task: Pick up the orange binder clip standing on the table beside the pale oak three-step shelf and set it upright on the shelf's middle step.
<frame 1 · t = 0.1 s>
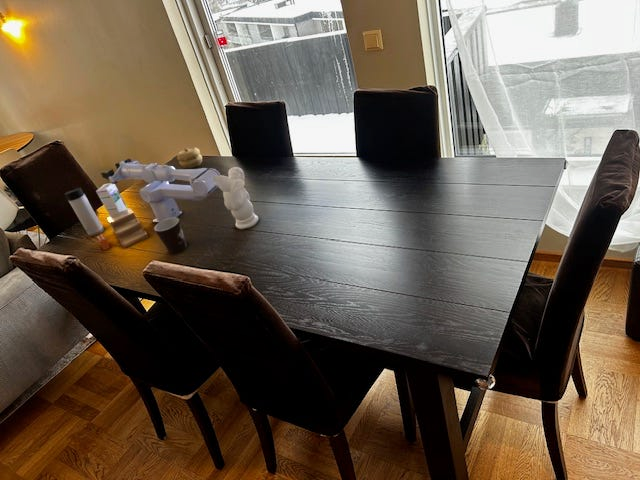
hand: (109, 170, 180), 22 cm above the table, tool horizontal, fingers open, 7 cm apart
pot: (193, 167, 228), on the table
syrup box: (121, 216, 195), on the table
travel mug: (96, 232, 186), on the table
step shelf: (130, 234, 177), on the table
cherub figurine: (249, 225, 161), on the table
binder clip: (106, 247, 172), on the table
coffee mug: (181, 246, 159), on the table
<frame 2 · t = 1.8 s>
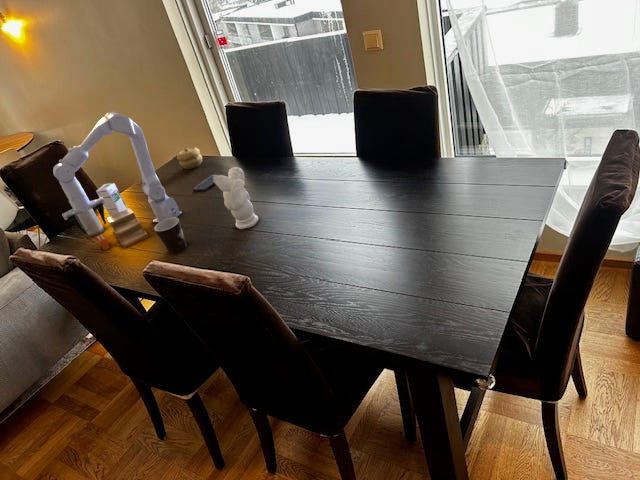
hand: (94, 227, 167), 9 cm above the table, tool pointing down, fingers open, 7 cm apart
nothing on the table moved.
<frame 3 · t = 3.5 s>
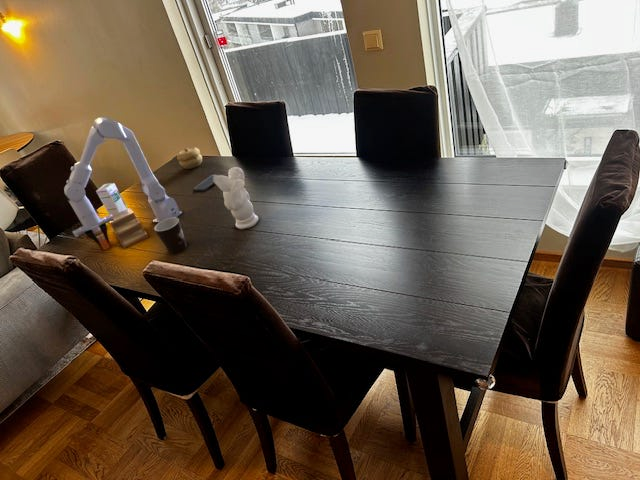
hand: (104, 244, 171), 1 cm above the table, tool pointing down, fingers closed on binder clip, 2 cm apart
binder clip: (106, 247, 172), on the table, touching gripper
everything else where it was.
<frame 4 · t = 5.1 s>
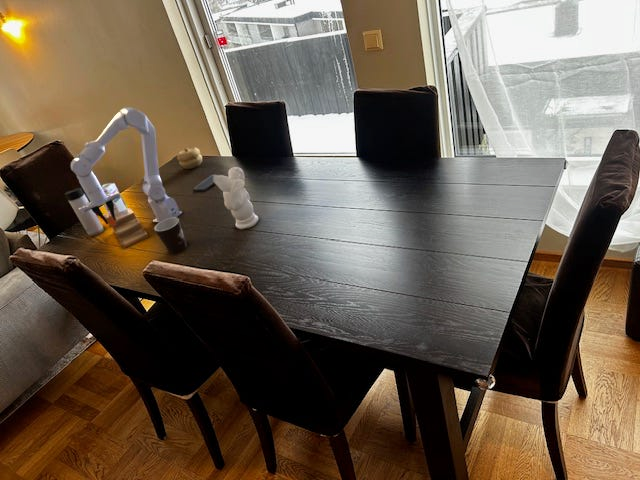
hand: (111, 221, 170), 8 cm above the table, tool pointing down, fingers closed on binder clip, 2 cm apart
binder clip: (112, 224, 171), point 7 cm above the table, touching gripper
everything else where it was.
when the fingers open (5 cm above the table, at t = 6.7 s): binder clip stays where it is, resting on step shelf.
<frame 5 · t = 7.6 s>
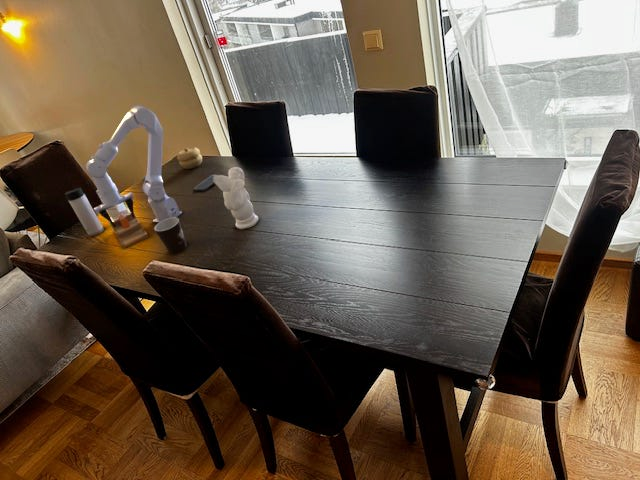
hand: (124, 221, 173), 6 cm above the table, tool pointing down, fingers open, 7 cm apart
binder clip: (126, 225, 174), point 4 cm above the table, touching step shelf
everything else where it was.
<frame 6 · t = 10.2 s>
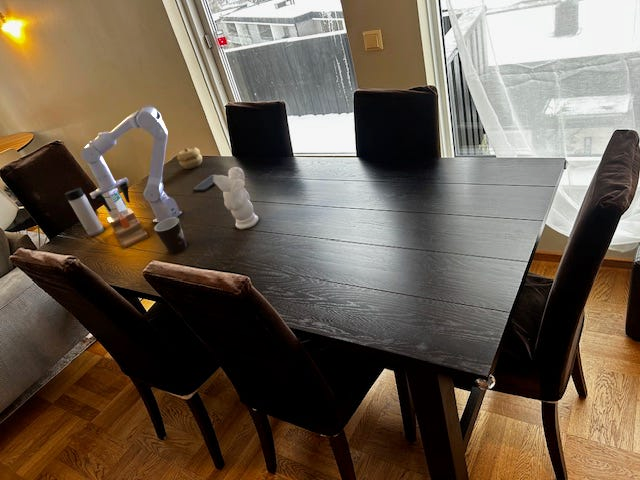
hand: (119, 206, 177), 10 cm above the table, tool pointing down, fingers open, 7 cm apart
nothing on the table moved.
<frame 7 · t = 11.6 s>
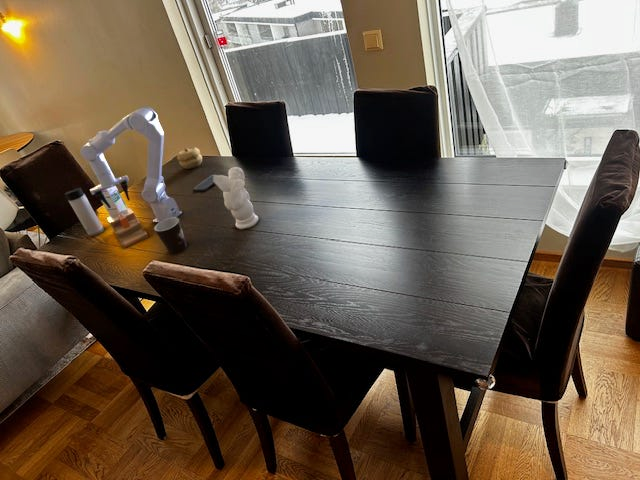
hand: (119, 203, 180), 10 cm above the table, tool pointing down, fingers open, 7 cm apart
nothing on the table moved.
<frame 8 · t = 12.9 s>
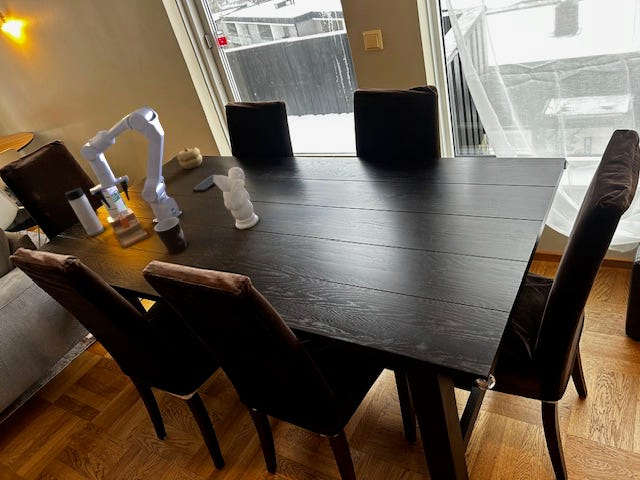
hand: (119, 203, 180), 10 cm above the table, tool pointing down, fingers open, 7 cm apart
nothing on the table moved.
at the end: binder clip 0.4 cm off-centre on the step shelf, point 4.0 cm above the step shelf's base; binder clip tilted 0°; the gripper is holding nothing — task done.
